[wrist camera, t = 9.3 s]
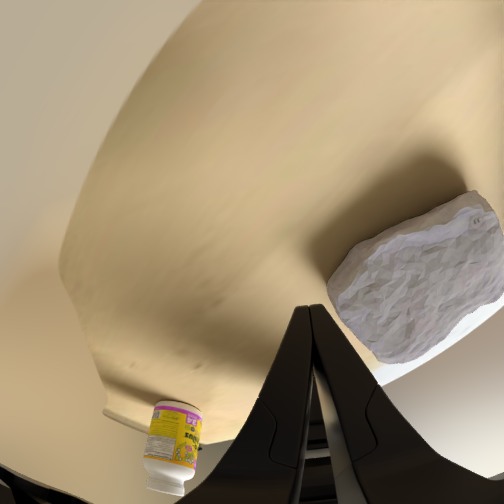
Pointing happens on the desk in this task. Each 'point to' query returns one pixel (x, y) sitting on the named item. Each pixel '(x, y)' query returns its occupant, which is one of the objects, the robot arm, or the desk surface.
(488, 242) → the stone block
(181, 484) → the supplement bottle
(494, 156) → the desk surface
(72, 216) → the desk surface
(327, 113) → the desk surface
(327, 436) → the robot arm
